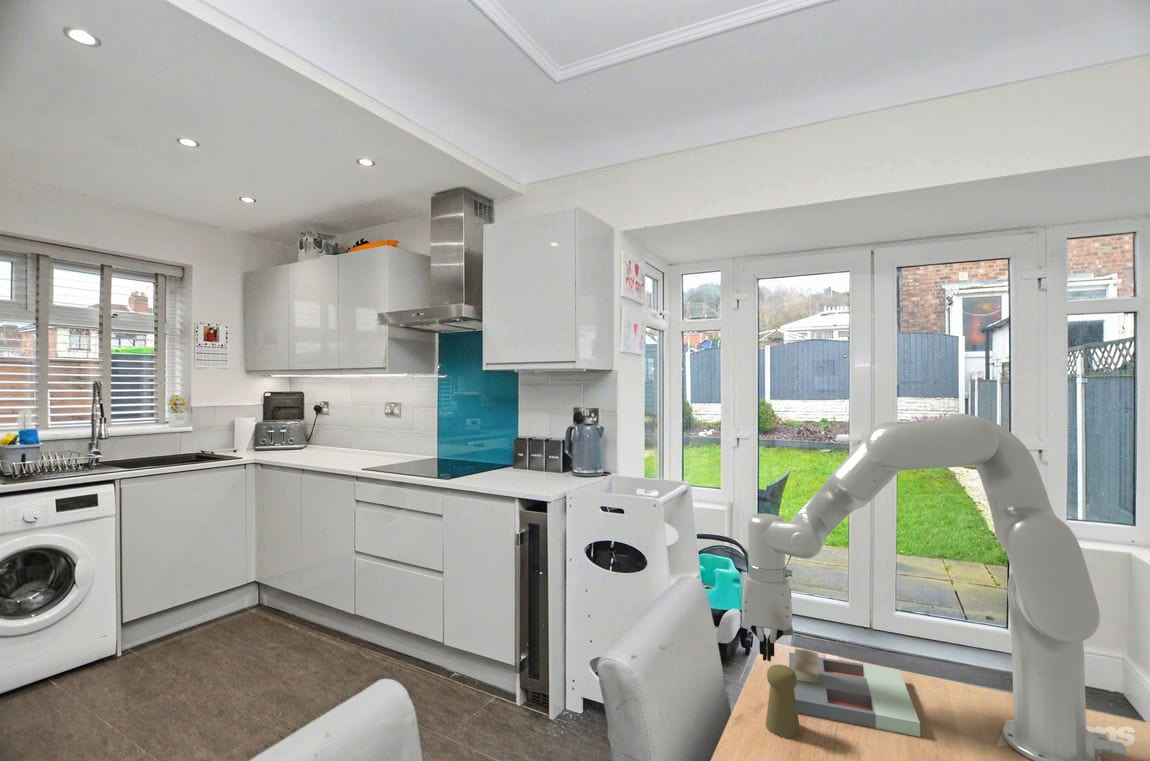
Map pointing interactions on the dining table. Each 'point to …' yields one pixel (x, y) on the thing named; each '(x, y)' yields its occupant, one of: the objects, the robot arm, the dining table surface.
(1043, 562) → the robot arm
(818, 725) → the dining table surface
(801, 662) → the beech block
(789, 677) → the olive pawn
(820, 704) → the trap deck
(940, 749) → the dining table surface
